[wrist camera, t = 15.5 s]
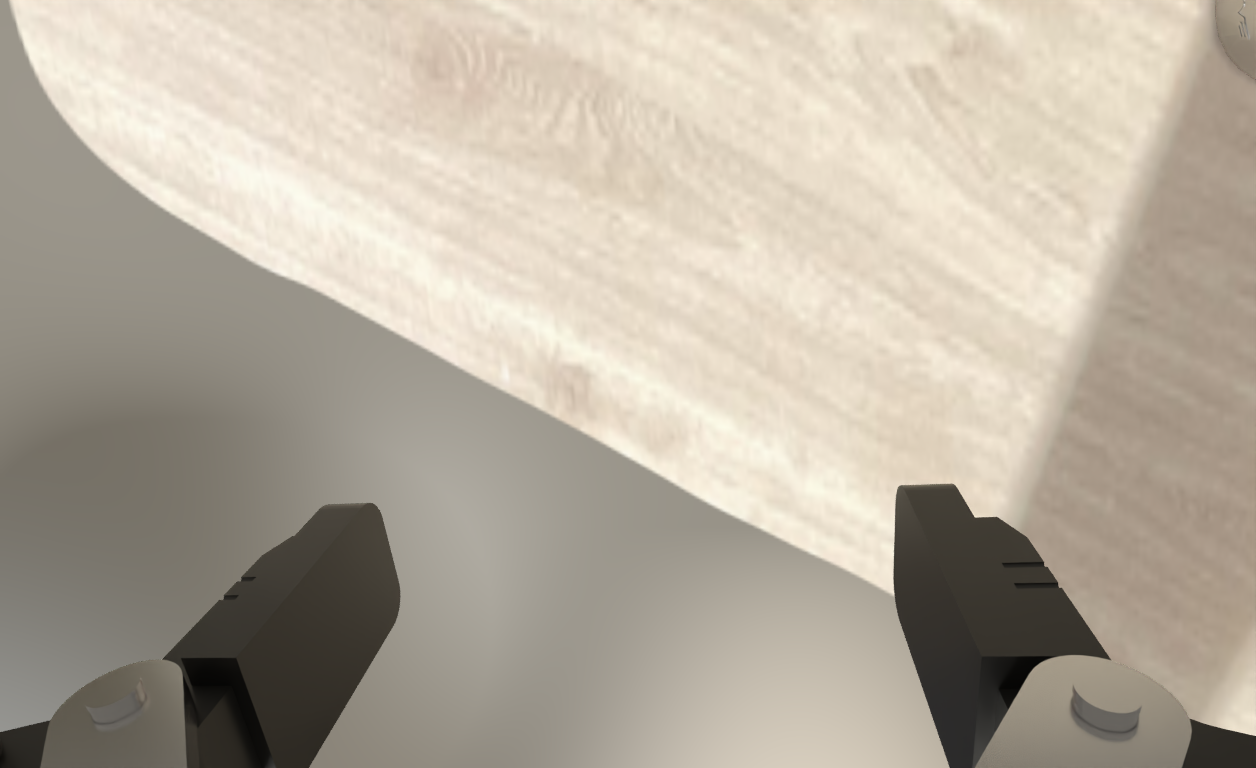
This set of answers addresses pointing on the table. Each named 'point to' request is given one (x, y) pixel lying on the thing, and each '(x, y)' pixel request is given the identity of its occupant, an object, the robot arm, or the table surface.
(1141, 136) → the table surface
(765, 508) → the table surface
